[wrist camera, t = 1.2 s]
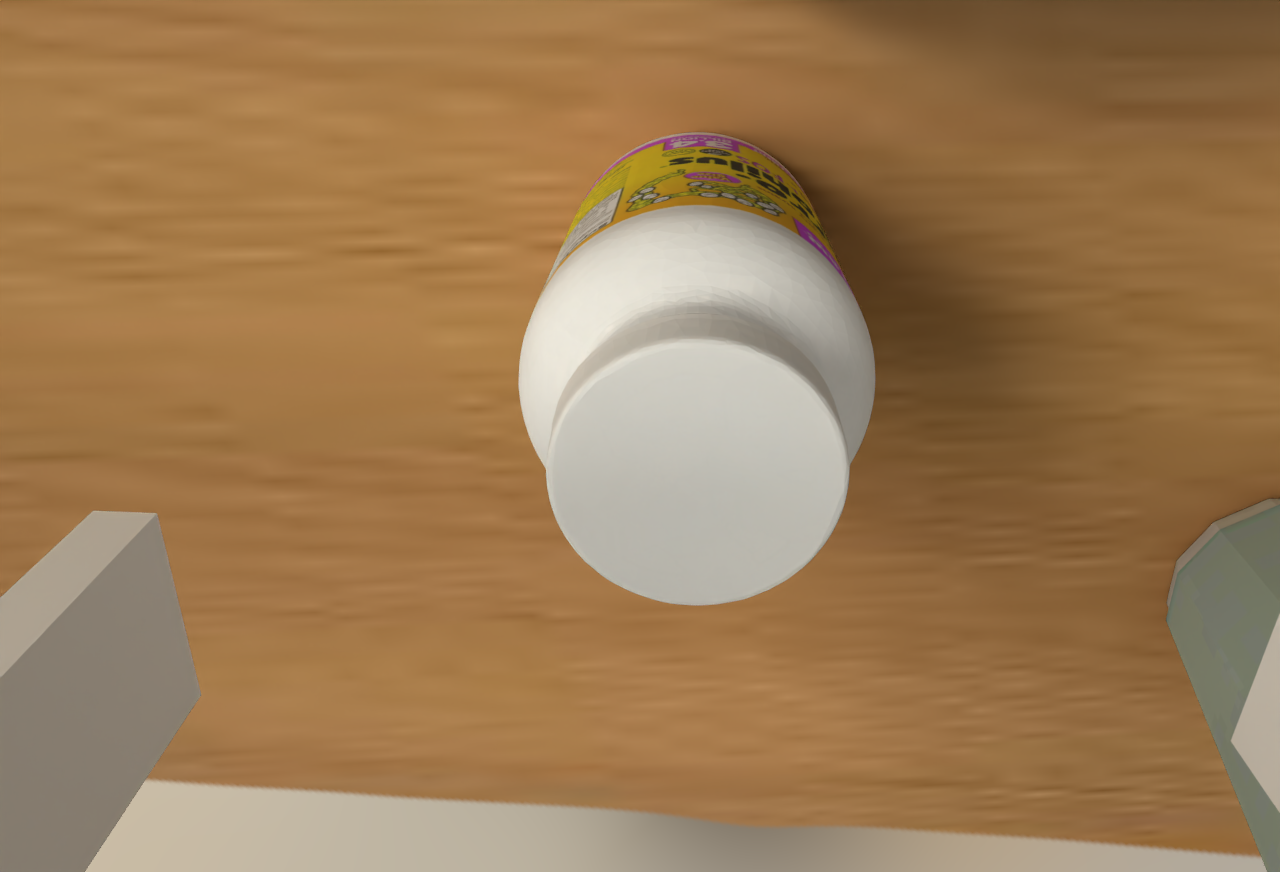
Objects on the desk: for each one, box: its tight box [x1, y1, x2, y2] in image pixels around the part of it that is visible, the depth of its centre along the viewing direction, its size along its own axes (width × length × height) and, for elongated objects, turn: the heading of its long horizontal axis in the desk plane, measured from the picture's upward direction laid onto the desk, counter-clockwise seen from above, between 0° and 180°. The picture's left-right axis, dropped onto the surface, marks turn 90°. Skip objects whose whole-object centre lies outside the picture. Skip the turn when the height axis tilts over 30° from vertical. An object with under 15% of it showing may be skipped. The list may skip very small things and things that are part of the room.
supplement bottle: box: [519, 132, 876, 605], centre depth 20 cm, size 7×7×13 cm
